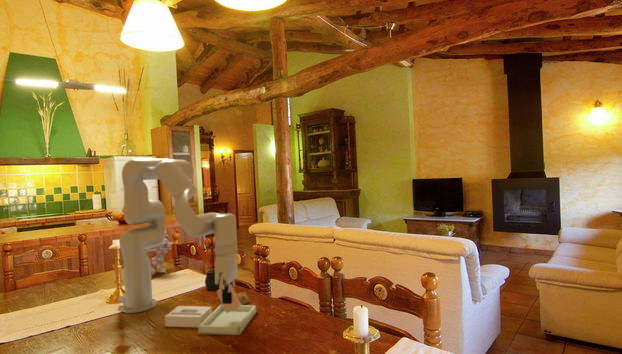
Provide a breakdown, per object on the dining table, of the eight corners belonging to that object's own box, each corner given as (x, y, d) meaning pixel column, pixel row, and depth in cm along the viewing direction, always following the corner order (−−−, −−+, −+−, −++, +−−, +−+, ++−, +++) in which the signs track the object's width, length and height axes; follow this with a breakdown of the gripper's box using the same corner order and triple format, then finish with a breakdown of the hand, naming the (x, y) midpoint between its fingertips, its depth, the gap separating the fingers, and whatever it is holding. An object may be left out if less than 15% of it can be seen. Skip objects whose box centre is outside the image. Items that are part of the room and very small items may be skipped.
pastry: (230, 310, 132) (230, 300, 132) (220, 306, 136) (220, 296, 136) (250, 302, 138) (249, 293, 138) (240, 298, 143) (240, 289, 143)
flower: (119, 273, 181) (120, 233, 172) (160, 259, 199) (164, 222, 189) (136, 296, 171) (139, 255, 161) (178, 279, 188) (183, 241, 179)
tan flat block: (226, 313, 119) (216, 292, 120) (229, 310, 122) (219, 289, 122) (238, 307, 118) (228, 286, 119) (241, 304, 121) (231, 283, 121)
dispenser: (165, 326, 119) (164, 315, 119) (178, 315, 128) (178, 305, 128) (200, 327, 117) (200, 316, 117) (211, 316, 126) (211, 305, 126)
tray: (198, 333, 113) (198, 326, 113) (220, 311, 130) (220, 304, 130) (239, 335, 111) (239, 327, 111) (256, 312, 128) (256, 305, 128)
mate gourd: (219, 284, 162) (218, 263, 162) (224, 288, 156) (223, 266, 156) (203, 287, 159) (202, 265, 158) (208, 292, 152) (207, 269, 152)
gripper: (225, 244, 128) (227, 293, 129) (205, 255, 113) (208, 311, 113) (244, 244, 127) (246, 293, 128) (227, 255, 112) (230, 311, 112)
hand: (228, 301), depth 120 cm, fingers closed on tan flat block, 2 cm apart
